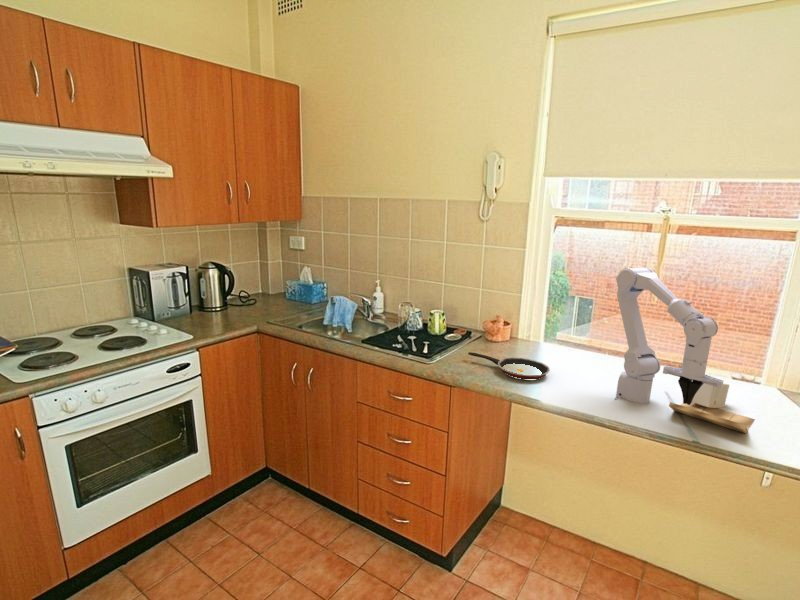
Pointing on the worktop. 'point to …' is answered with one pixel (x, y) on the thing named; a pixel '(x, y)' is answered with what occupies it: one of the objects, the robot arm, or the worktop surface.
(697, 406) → the laid board
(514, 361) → the frying pan
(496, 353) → the worktop surface
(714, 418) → the plank
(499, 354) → the worktop surface
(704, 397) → the small box
